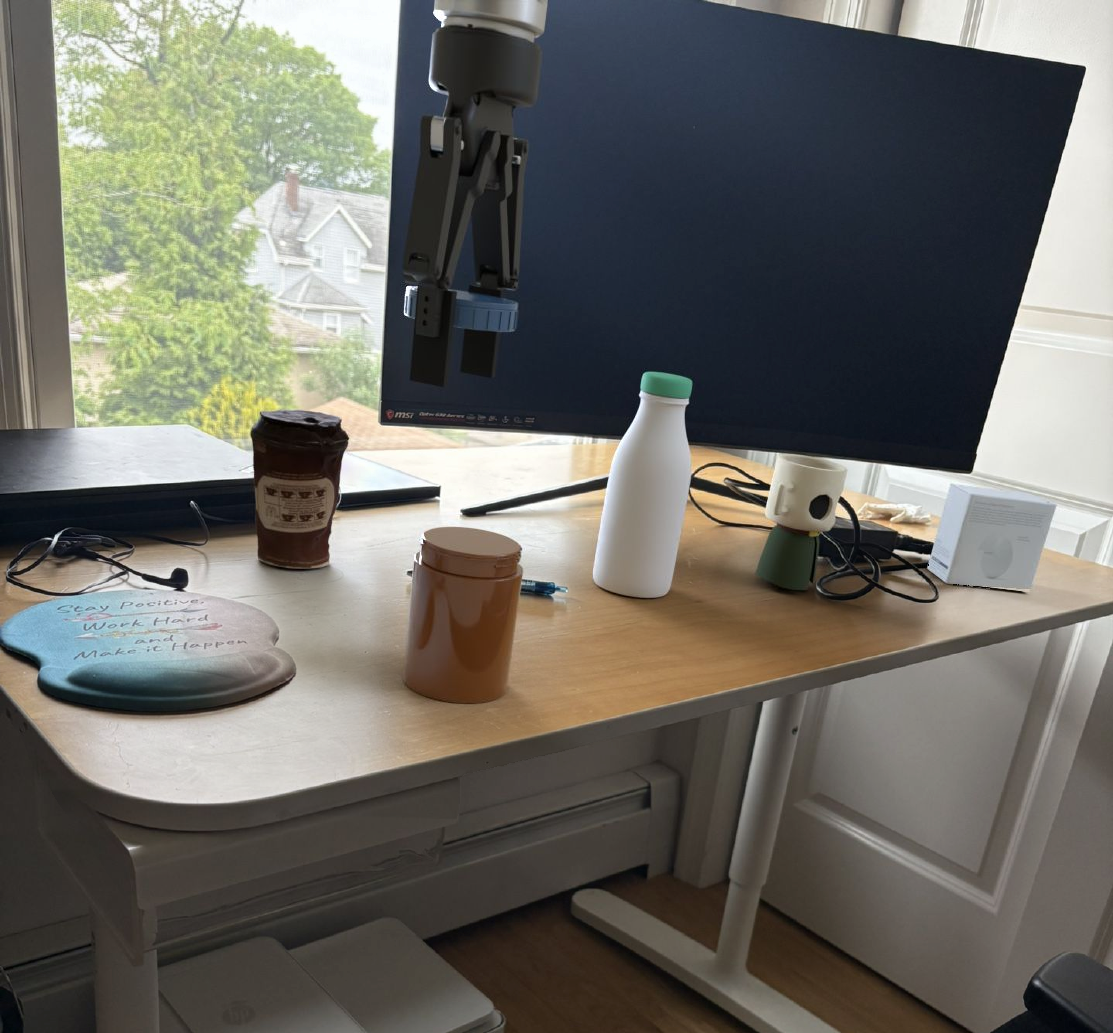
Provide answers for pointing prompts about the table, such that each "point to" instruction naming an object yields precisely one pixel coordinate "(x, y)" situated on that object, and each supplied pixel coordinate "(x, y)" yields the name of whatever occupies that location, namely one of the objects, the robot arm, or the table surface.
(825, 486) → the character mug
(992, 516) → the cosmetics box
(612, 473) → the milk bottle
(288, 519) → the coffee cup
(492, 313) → the jar lid
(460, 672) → the jar
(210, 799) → the table surface
